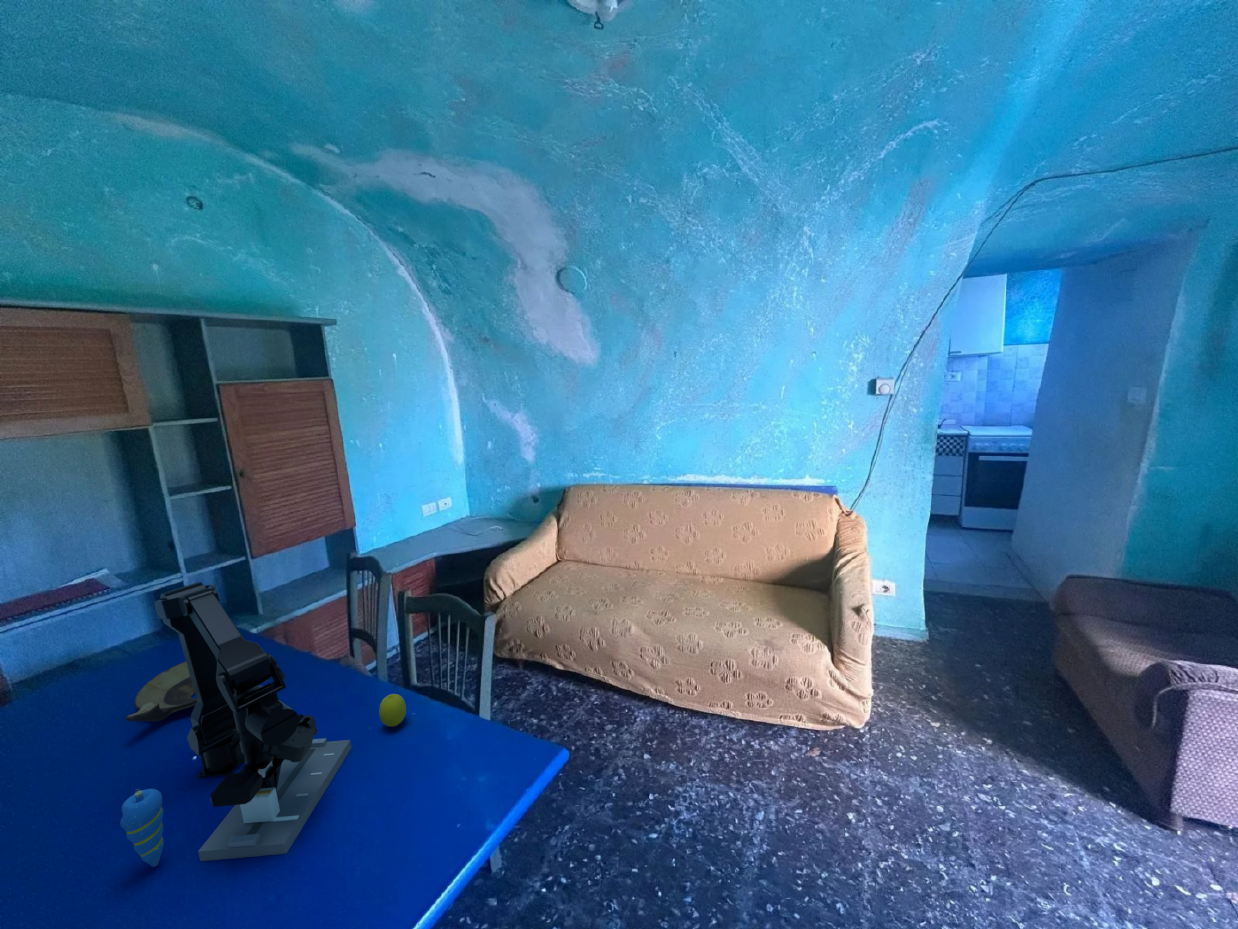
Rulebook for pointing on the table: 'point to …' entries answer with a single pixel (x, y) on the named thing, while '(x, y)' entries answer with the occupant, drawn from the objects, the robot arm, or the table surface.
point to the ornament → (144, 824)
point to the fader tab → (261, 807)
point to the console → (296, 804)
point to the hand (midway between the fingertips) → (272, 795)
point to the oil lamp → (164, 695)
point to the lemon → (392, 710)
